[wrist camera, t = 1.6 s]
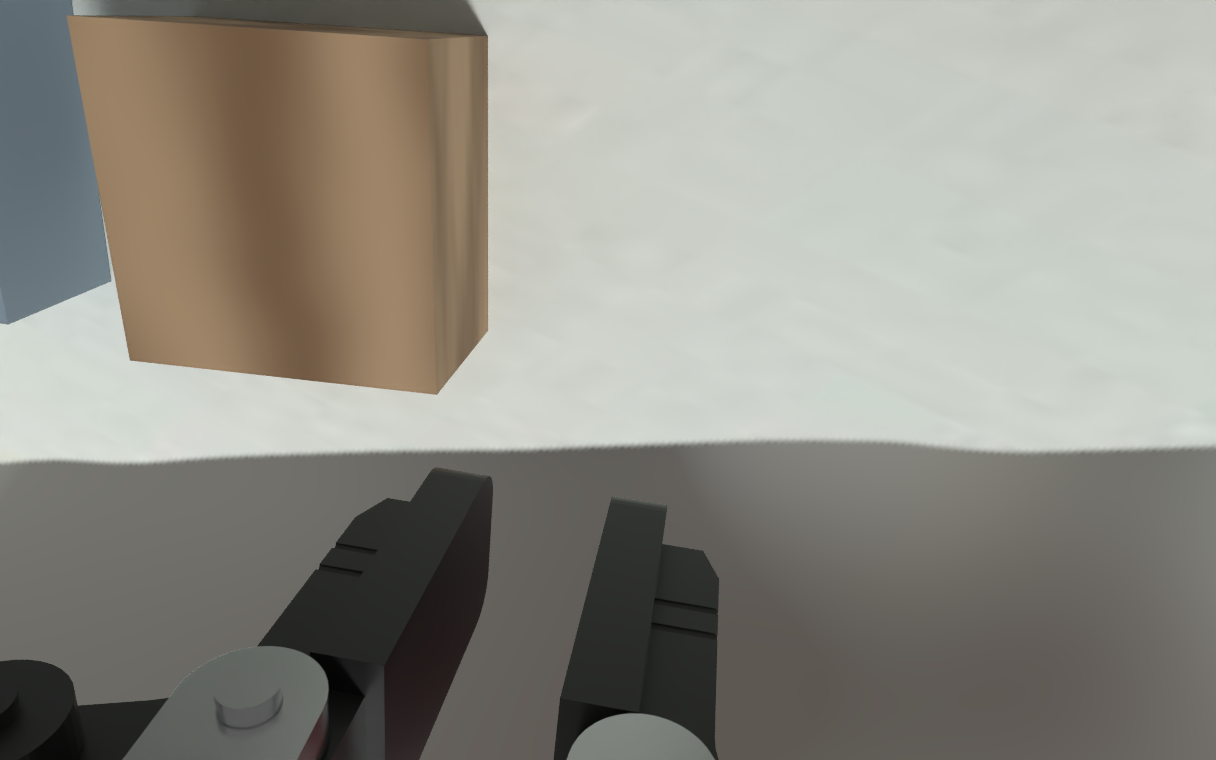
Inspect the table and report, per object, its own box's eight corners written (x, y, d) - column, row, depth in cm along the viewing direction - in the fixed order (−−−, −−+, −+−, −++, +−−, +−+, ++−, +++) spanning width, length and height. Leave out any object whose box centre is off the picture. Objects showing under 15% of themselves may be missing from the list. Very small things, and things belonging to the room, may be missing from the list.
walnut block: (233, 302, 32) (130, 360, 27) (197, 16, 28) (66, 15, 23) (489, 328, 31) (437, 394, 26) (489, 35, 27) (427, 39, 22)
